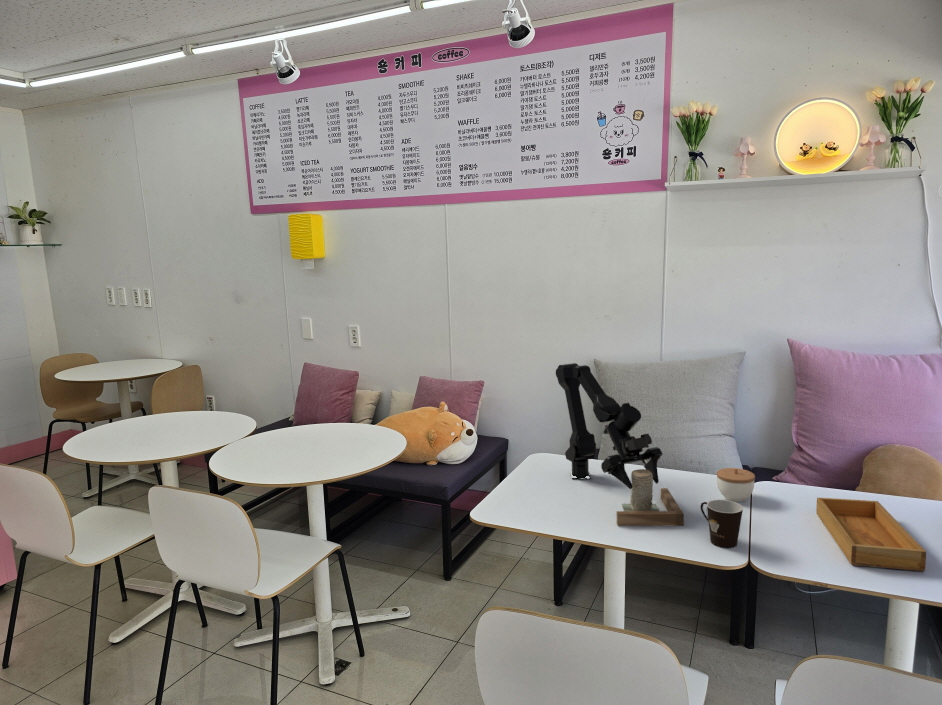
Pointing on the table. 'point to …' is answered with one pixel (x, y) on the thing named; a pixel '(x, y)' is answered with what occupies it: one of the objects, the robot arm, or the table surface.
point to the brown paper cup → (723, 522)
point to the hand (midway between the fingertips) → (644, 485)
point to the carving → (641, 490)
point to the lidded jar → (735, 483)
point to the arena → (653, 514)
